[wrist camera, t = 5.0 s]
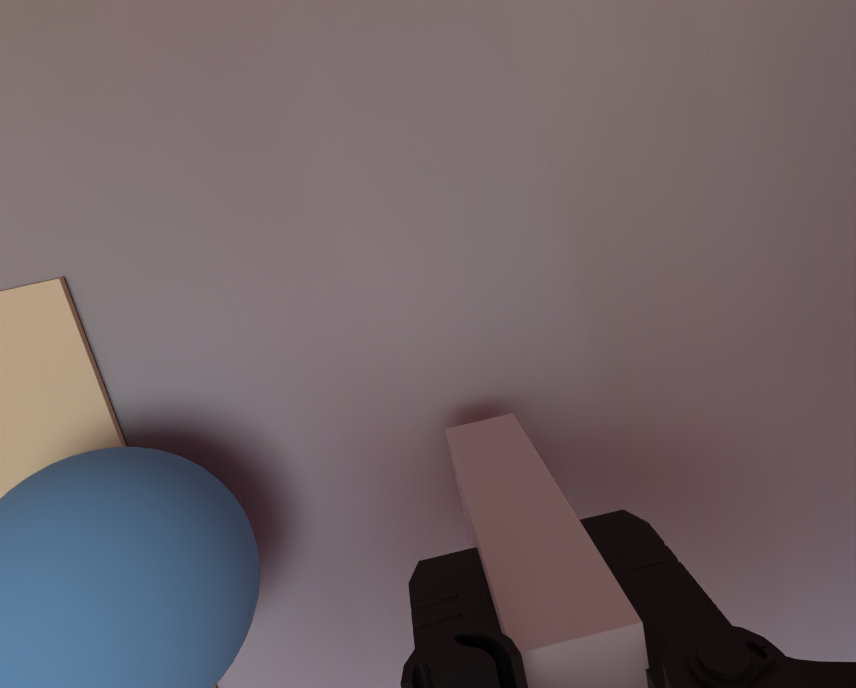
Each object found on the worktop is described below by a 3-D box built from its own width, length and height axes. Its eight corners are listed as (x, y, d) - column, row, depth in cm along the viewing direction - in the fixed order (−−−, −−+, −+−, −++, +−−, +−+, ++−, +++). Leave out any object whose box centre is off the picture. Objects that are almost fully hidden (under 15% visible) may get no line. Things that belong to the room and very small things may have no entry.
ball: (-162, 524, 11) (121, 398, 15) (-38, 760, 13) (189, 587, 17) (-37, 585, 8) (273, 408, 12) (108, 892, 10) (341, 638, 14)
